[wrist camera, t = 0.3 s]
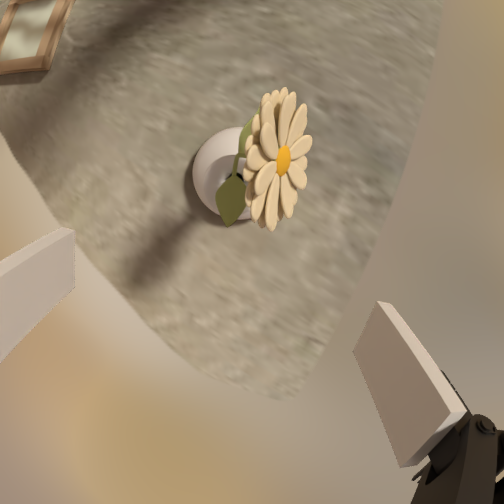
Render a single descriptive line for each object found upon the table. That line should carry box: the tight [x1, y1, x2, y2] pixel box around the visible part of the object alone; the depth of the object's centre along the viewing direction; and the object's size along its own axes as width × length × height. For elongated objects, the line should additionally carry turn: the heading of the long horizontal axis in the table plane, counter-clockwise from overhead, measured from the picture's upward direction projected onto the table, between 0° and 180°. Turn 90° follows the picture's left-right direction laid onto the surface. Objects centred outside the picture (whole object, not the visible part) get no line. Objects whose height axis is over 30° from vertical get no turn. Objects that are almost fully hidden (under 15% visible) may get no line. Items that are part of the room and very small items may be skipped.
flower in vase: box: [192, 87, 312, 232], centre depth 25 cm, size 13×11×25 cm
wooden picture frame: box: [0, 0, 75, 75], centre depth 26 cm, size 16×16×2 cm
